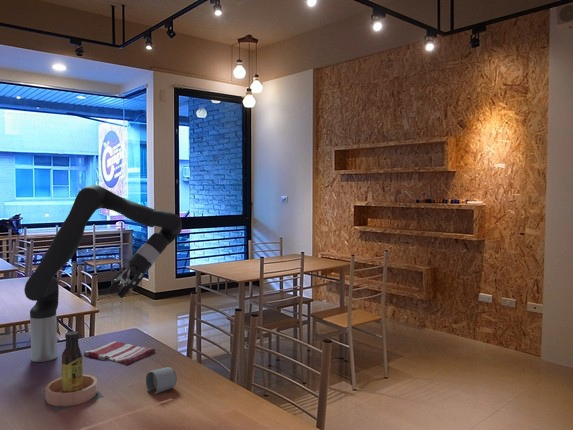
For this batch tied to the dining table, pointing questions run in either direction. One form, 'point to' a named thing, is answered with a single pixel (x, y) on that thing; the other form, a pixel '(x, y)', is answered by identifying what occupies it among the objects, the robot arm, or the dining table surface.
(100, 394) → the mat
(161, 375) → the ceramic mug
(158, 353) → the dining table surface
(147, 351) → the dish towel
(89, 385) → the bowl
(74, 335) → the sauce bottle
